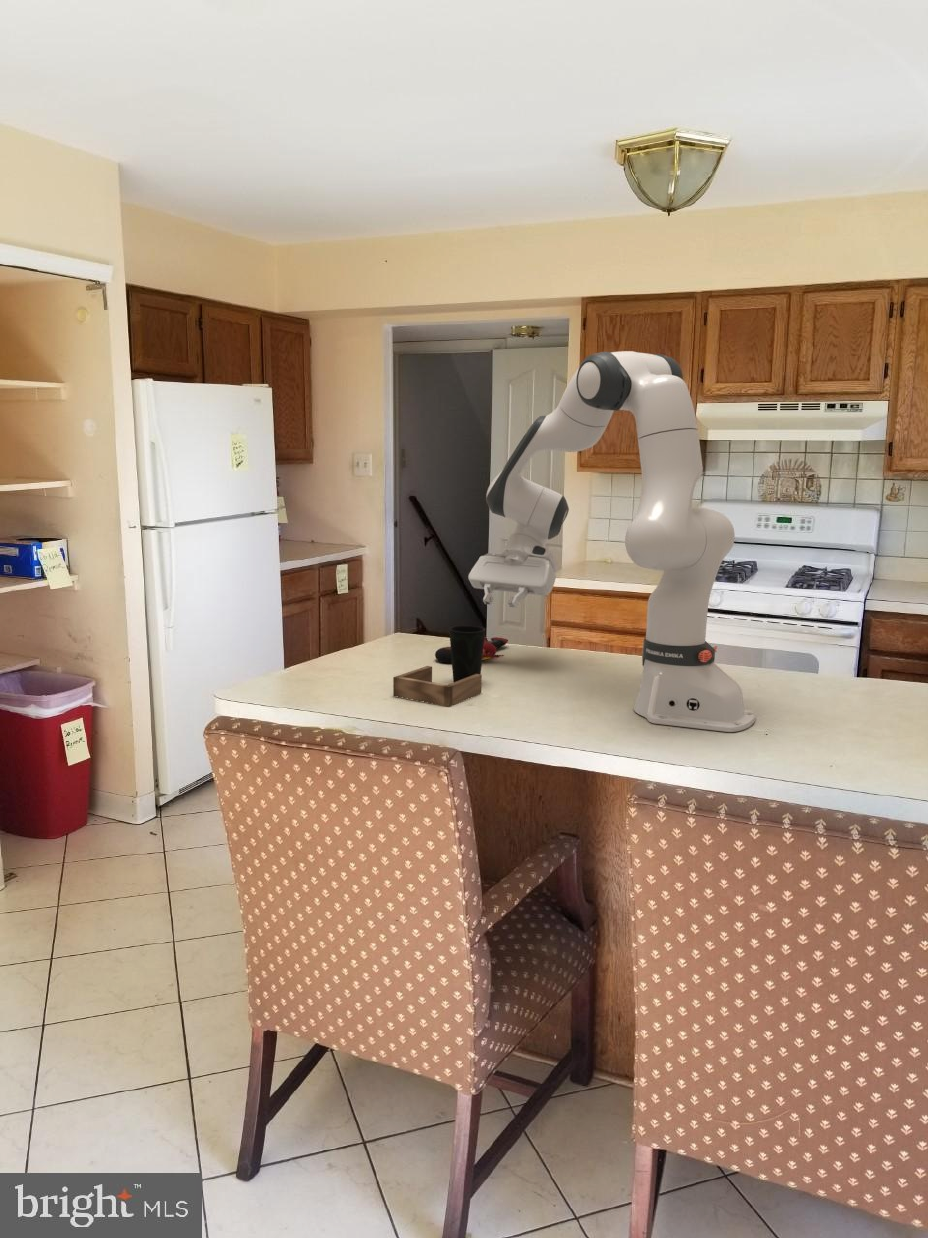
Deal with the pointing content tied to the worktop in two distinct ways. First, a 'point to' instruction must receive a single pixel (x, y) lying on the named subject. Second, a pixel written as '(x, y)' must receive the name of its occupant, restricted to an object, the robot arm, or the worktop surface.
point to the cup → (466, 650)
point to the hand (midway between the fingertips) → (499, 604)
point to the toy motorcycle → (488, 650)
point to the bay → (435, 687)
